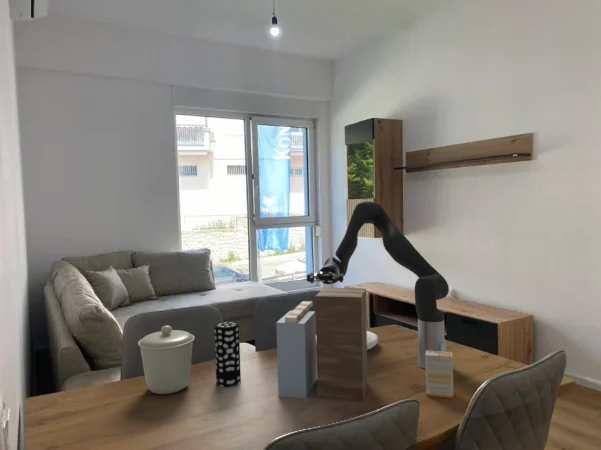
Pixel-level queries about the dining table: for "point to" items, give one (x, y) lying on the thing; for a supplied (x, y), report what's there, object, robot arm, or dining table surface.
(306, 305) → the slat
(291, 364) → the gray rectangular box
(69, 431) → the dining table surface
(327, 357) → the walnut box
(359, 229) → the robot arm
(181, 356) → the canister
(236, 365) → the white-spotted black cylinder
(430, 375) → the supplement box
